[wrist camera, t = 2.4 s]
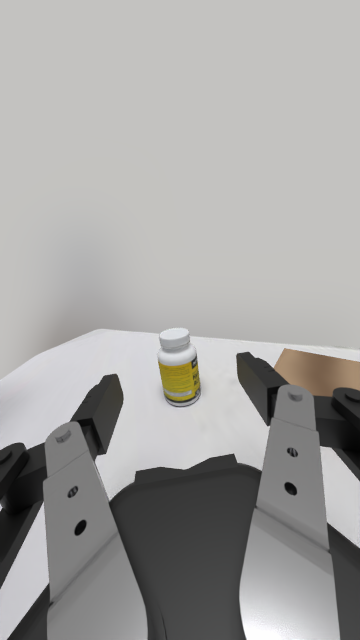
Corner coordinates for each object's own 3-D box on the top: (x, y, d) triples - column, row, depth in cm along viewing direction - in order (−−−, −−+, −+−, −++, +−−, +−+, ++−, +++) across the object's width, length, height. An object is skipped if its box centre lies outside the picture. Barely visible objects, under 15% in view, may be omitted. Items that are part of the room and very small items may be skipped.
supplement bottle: (203, 405, 23) (195, 338, 20) (163, 409, 23) (149, 344, 20) (199, 380, 28) (192, 323, 25) (166, 383, 29) (156, 328, 26)
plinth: (265, 408, 21) (266, 381, 20) (283, 370, 28) (284, 348, 26) (374, 452, 15) (384, 417, 14) (365, 392, 22) (371, 364, 20)
